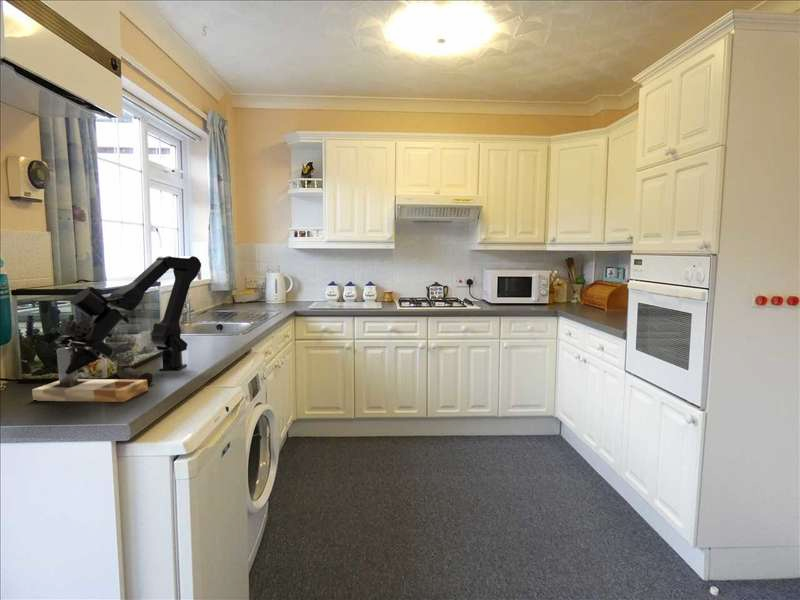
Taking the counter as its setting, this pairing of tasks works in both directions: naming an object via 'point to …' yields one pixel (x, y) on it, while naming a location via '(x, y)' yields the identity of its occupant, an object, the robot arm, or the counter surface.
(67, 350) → the steel peg
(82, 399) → the rail board
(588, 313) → the counter surface
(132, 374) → the brown rough long piece
